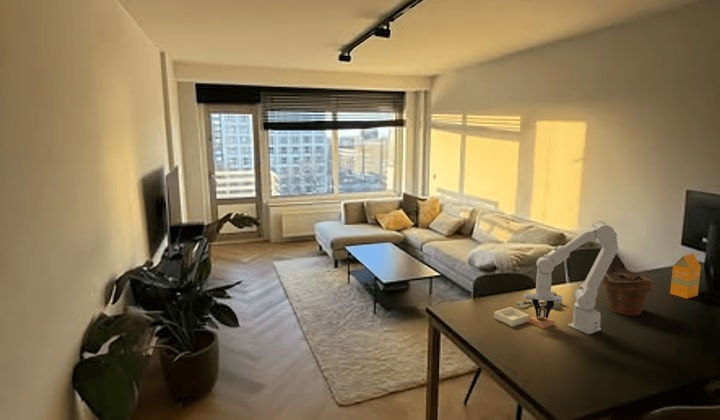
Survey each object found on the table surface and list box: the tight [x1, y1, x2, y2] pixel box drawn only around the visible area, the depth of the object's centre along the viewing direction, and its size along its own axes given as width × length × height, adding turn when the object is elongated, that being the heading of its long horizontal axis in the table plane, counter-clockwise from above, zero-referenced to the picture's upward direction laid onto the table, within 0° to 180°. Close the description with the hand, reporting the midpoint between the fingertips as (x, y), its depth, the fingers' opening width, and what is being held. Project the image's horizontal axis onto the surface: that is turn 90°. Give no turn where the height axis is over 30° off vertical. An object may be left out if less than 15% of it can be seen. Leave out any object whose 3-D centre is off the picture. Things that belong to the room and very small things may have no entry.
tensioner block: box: [528, 315, 556, 329], centre depth 178 cm, size 7×7×2 cm
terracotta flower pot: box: [601, 266, 655, 316], centre depth 188 cm, size 18×20×18 cm
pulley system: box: [516, 290, 564, 310], centre depth 199 cm, size 27×5×15 cm
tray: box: [493, 306, 530, 328], centre depth 182 cm, size 10×10×3 cm
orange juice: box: [669, 253, 702, 300], centre depth 205 cm, size 8×9×20 cm
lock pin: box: [538, 303, 547, 321], centre depth 178 cm, size 3×3×8 cm
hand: (541, 316), depth 178 cm, fingers closed on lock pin, 3 cm apart
